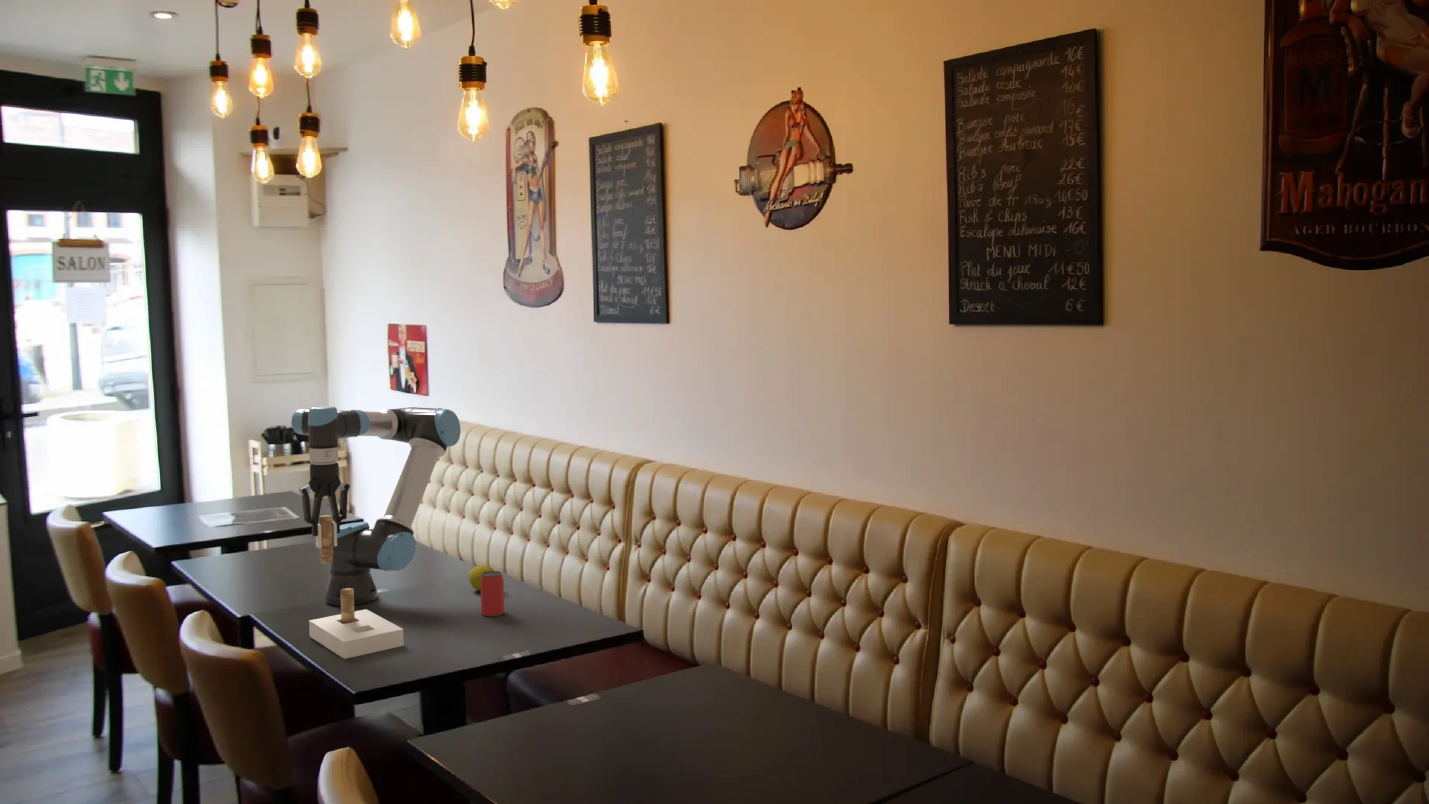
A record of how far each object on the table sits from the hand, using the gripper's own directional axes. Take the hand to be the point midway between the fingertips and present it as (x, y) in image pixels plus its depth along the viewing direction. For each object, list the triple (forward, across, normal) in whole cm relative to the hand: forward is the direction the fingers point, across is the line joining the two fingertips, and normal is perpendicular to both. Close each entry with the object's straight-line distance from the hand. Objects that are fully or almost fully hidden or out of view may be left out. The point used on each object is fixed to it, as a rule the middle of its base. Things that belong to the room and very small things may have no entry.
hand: (326, 546), depth 304 cm
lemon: (+22, +51, +7) cm, 56 cm away
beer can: (+23, +41, -18) cm, 50 cm away
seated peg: (+23, +1, -12) cm, 26 cm away
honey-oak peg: (+5, 0, 0) cm, 5 cm away
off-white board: (+23, +1, -17) cm, 29 cm away
